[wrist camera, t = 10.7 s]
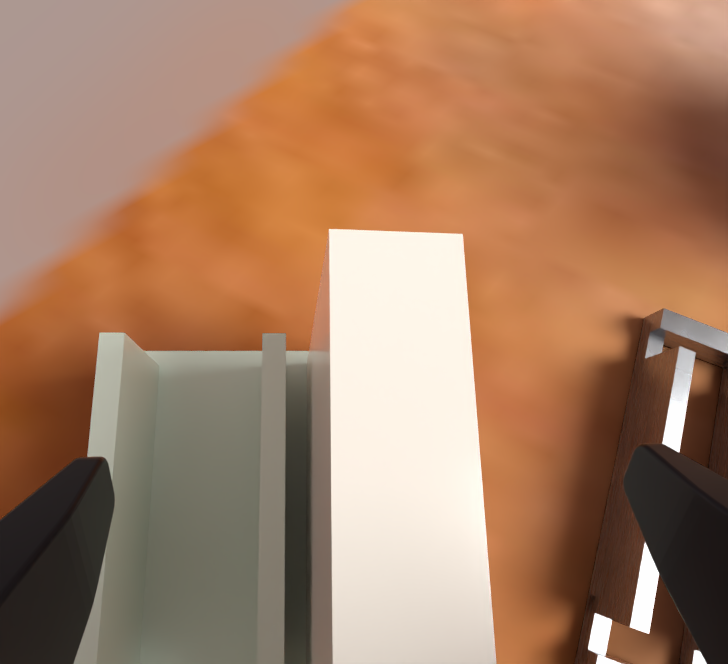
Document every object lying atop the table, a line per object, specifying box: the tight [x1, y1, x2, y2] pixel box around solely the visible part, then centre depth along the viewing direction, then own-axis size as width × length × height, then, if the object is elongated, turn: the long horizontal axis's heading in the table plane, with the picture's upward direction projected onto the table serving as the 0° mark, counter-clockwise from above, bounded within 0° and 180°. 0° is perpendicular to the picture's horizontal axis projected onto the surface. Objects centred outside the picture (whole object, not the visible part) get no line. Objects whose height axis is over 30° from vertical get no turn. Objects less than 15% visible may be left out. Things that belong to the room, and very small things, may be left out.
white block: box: [306, 229, 496, 664], centre depth 12 cm, size 10×2×10 cm, turn 2°
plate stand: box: [574, 309, 728, 664], centre depth 19 cm, size 13×4×2 cm, turn 161°
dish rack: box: [74, 333, 309, 664], centre depth 15 cm, size 11×9×5 cm
